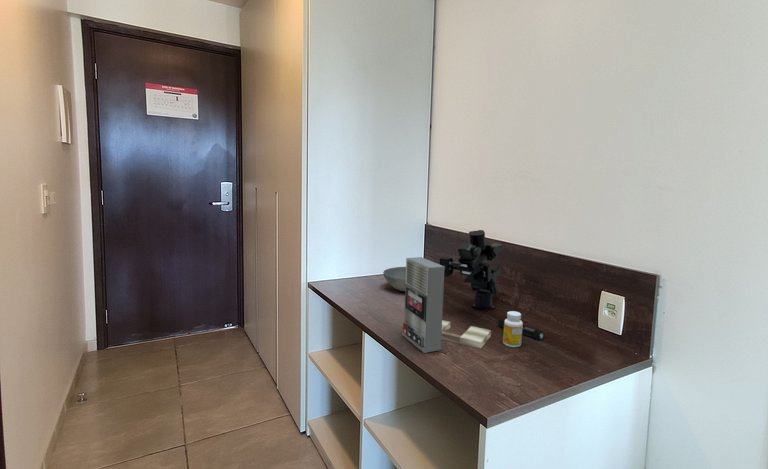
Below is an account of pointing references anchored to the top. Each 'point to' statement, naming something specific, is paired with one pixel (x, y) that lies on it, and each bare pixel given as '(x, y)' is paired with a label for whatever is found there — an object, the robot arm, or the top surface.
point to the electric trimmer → (527, 331)
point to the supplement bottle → (513, 329)
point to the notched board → (466, 336)
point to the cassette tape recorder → (423, 304)
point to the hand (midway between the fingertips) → (452, 278)
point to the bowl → (396, 277)
